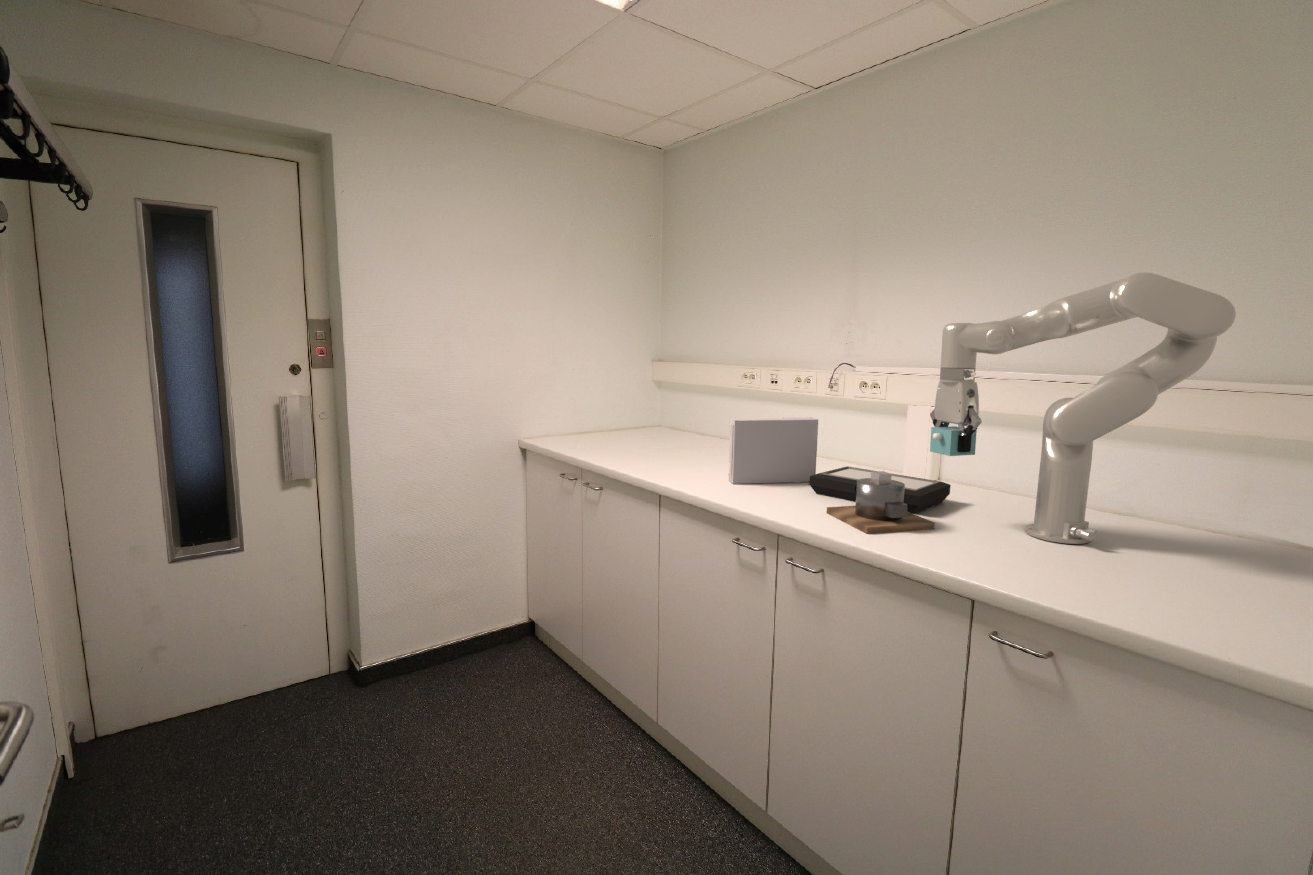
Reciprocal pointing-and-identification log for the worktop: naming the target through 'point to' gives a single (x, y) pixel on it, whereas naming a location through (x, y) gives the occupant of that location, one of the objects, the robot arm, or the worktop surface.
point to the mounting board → (877, 526)
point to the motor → (880, 498)
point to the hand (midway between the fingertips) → (952, 448)
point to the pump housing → (949, 441)
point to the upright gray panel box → (772, 450)
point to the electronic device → (916, 491)
